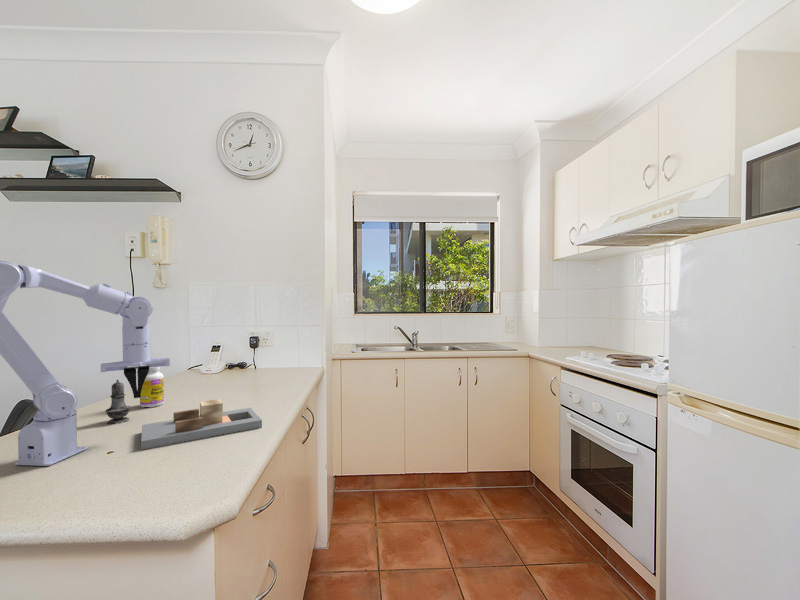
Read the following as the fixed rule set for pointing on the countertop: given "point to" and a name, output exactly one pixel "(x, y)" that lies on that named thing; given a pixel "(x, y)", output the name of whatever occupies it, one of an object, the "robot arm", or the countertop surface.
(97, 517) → the countertop surface
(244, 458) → the countertop surface
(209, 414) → the block
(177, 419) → the channel walls
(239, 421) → the deck
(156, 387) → the supplement bottle
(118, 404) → the salt shaker
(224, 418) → the tile
